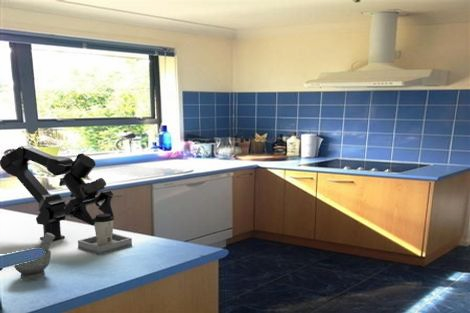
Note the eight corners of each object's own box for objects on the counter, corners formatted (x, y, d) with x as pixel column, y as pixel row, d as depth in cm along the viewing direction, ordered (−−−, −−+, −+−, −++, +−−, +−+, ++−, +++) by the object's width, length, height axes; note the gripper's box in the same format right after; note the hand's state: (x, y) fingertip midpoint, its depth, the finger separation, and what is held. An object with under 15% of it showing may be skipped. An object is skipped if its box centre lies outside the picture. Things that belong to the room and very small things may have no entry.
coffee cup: (116, 245, 148) (114, 216, 147) (94, 248, 146) (92, 218, 145) (114, 240, 155) (113, 212, 154) (93, 242, 153) (92, 214, 152)
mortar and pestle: (12, 285, 117) (9, 241, 116) (13, 274, 126) (10, 233, 125) (58, 278, 122) (55, 236, 121) (56, 268, 130) (54, 228, 129)
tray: (78, 247, 150) (77, 240, 149) (110, 239, 159) (109, 232, 159) (99, 255, 142) (99, 247, 141) (131, 245, 151) (131, 238, 151)
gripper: (68, 175, 142) (96, 212, 138) (108, 168, 158) (134, 200, 155) (51, 197, 146) (78, 234, 142) (92, 188, 163) (117, 220, 159)
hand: (103, 221), depth 150 cm, fingers open, 9 cm apart
